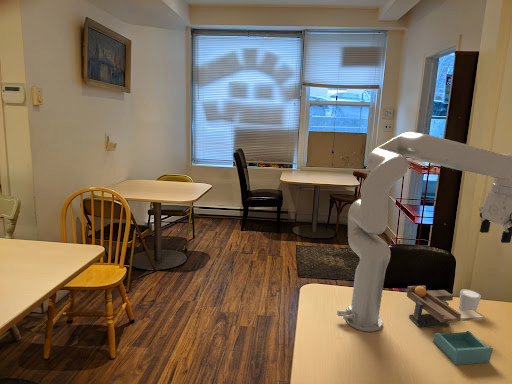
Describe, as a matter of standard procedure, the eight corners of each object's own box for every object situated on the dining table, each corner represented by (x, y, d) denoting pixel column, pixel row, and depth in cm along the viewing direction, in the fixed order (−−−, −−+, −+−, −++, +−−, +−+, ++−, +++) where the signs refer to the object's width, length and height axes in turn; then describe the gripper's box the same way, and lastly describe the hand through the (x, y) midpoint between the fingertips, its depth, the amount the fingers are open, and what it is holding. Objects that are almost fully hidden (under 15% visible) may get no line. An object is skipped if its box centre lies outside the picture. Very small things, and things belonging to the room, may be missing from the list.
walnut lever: (440, 322, 121) (442, 310, 120) (406, 296, 140) (407, 286, 140) (483, 319, 123) (484, 308, 123) (443, 294, 143) (444, 284, 142)
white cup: (480, 316, 138) (484, 299, 136) (460, 313, 139) (463, 296, 137) (473, 306, 144) (477, 290, 142) (454, 303, 145) (457, 287, 144)
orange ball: (418, 298, 136) (418, 287, 135) (412, 295, 139) (412, 284, 139) (428, 298, 136) (428, 287, 136) (421, 294, 140) (422, 284, 140)
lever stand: (418, 327, 129) (421, 307, 127) (408, 317, 134) (412, 298, 133) (449, 325, 131) (453, 306, 129) (438, 315, 136) (442, 297, 135)
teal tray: (455, 364, 111) (458, 350, 110) (433, 341, 121) (435, 328, 120) (489, 362, 113) (492, 348, 111) (464, 339, 123) (467, 326, 122)
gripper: (476, 184, 134) (467, 229, 138) (515, 196, 117) (504, 247, 121) (494, 184, 135) (485, 228, 139) (536, 196, 118) (524, 246, 123)
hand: (494, 237), depth 130 cm, fingers open, 9 cm apart
